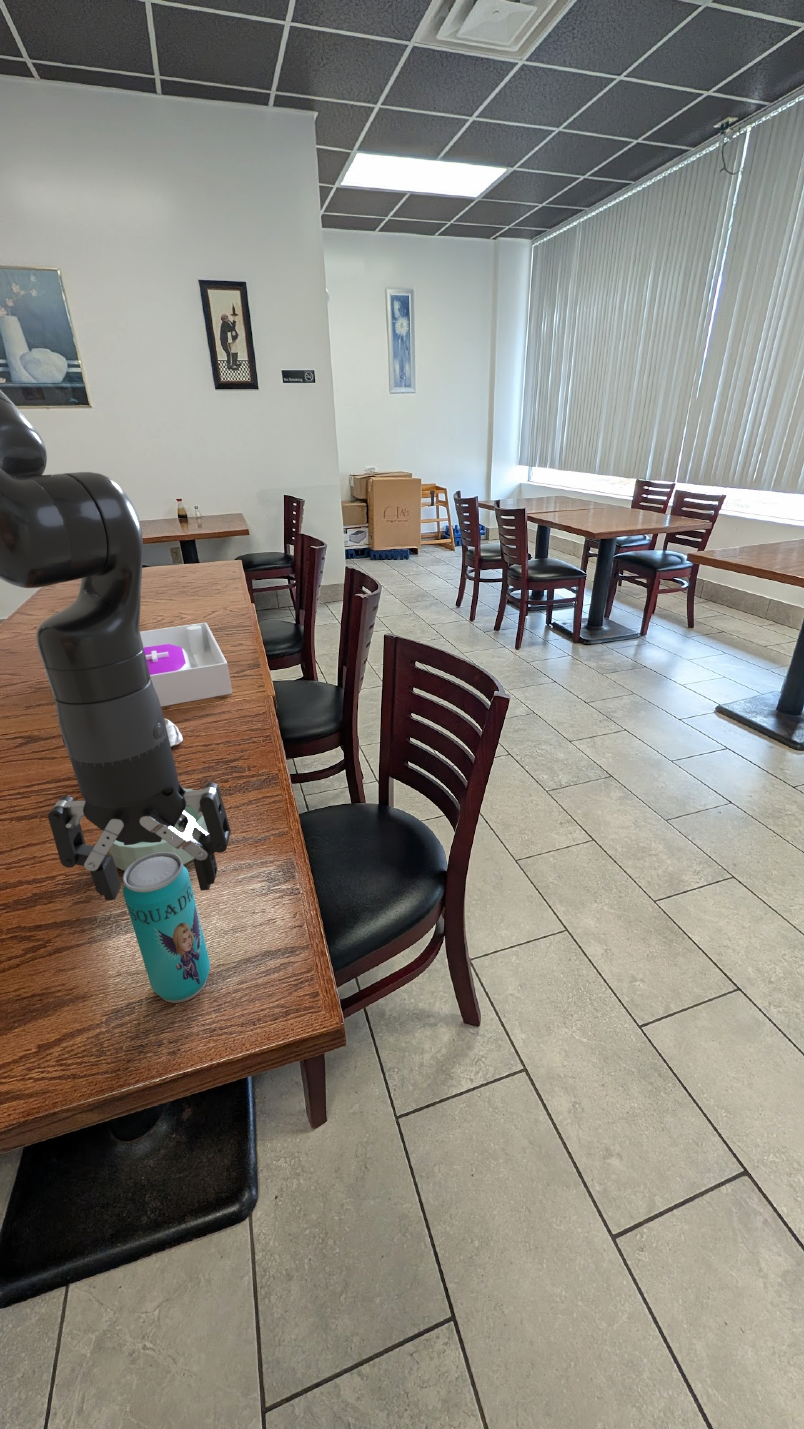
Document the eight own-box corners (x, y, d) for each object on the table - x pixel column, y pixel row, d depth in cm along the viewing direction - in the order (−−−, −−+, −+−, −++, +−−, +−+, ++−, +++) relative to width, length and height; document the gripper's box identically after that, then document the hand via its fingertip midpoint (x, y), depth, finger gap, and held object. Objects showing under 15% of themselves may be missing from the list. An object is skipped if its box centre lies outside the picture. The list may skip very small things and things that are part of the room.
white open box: (211, 647, 158) (206, 621, 155) (232, 693, 129) (227, 662, 126) (121, 661, 150) (114, 634, 147) (122, 713, 121) (114, 680, 118)
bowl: (96, 883, 74) (86, 851, 72) (130, 820, 87) (122, 791, 85) (205, 873, 76) (198, 842, 73) (223, 812, 88) (218, 784, 86)
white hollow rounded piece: (188, 751, 107) (186, 728, 105) (149, 759, 104) (146, 735, 102) (178, 732, 113) (175, 709, 111) (140, 739, 110) (137, 715, 108)
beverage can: (181, 1018, 57) (148, 899, 50) (141, 994, 59) (105, 878, 53) (224, 974, 61) (198, 860, 55) (185, 954, 64) (157, 843, 57)
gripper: (214, 710, 52) (243, 856, 59) (47, 723, 51) (96, 870, 58) (197, 751, 45) (231, 910, 52) (3, 767, 44) (65, 927, 51)
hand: (160, 889), depth 55 cm, fingers open, 8 cm apart
